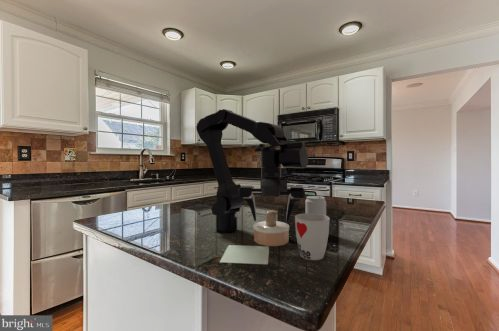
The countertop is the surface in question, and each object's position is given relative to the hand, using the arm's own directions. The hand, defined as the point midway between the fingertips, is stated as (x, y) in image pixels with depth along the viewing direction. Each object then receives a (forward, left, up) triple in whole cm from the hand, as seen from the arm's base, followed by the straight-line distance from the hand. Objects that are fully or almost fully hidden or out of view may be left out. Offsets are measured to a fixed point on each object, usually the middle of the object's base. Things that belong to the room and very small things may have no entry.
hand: (271, 221), depth 70 cm
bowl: (0, 0, -6) cm, 6 cm away
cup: (+10, -11, -6) cm, 16 cm away
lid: (0, 0, -2) cm, 2 cm away
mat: (-6, -11, -6) cm, 14 cm away
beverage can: (+14, +8, -6) cm, 18 cm away
